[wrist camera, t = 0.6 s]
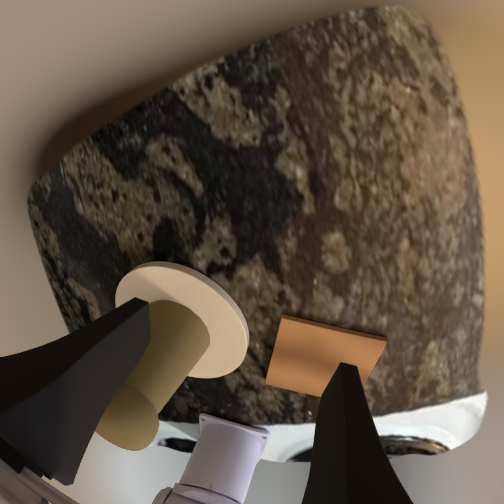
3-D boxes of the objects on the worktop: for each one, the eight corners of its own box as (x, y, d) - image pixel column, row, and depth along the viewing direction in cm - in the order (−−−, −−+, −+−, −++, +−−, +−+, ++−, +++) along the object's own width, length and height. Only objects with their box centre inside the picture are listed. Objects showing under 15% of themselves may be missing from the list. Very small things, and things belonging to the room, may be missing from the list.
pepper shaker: (131, 314, 26) (57, 408, 17) (173, 288, 23) (89, 402, 14) (178, 362, 28) (122, 460, 18) (225, 344, 25) (169, 464, 15)
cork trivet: (352, 398, 26) (351, 403, 25) (265, 379, 27) (264, 383, 26) (387, 337, 22) (387, 341, 21) (282, 313, 23) (281, 317, 22)
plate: (241, 386, 28) (239, 392, 28) (128, 347, 30) (124, 352, 29) (259, 284, 22) (256, 291, 21) (112, 245, 24) (106, 249, 23)
